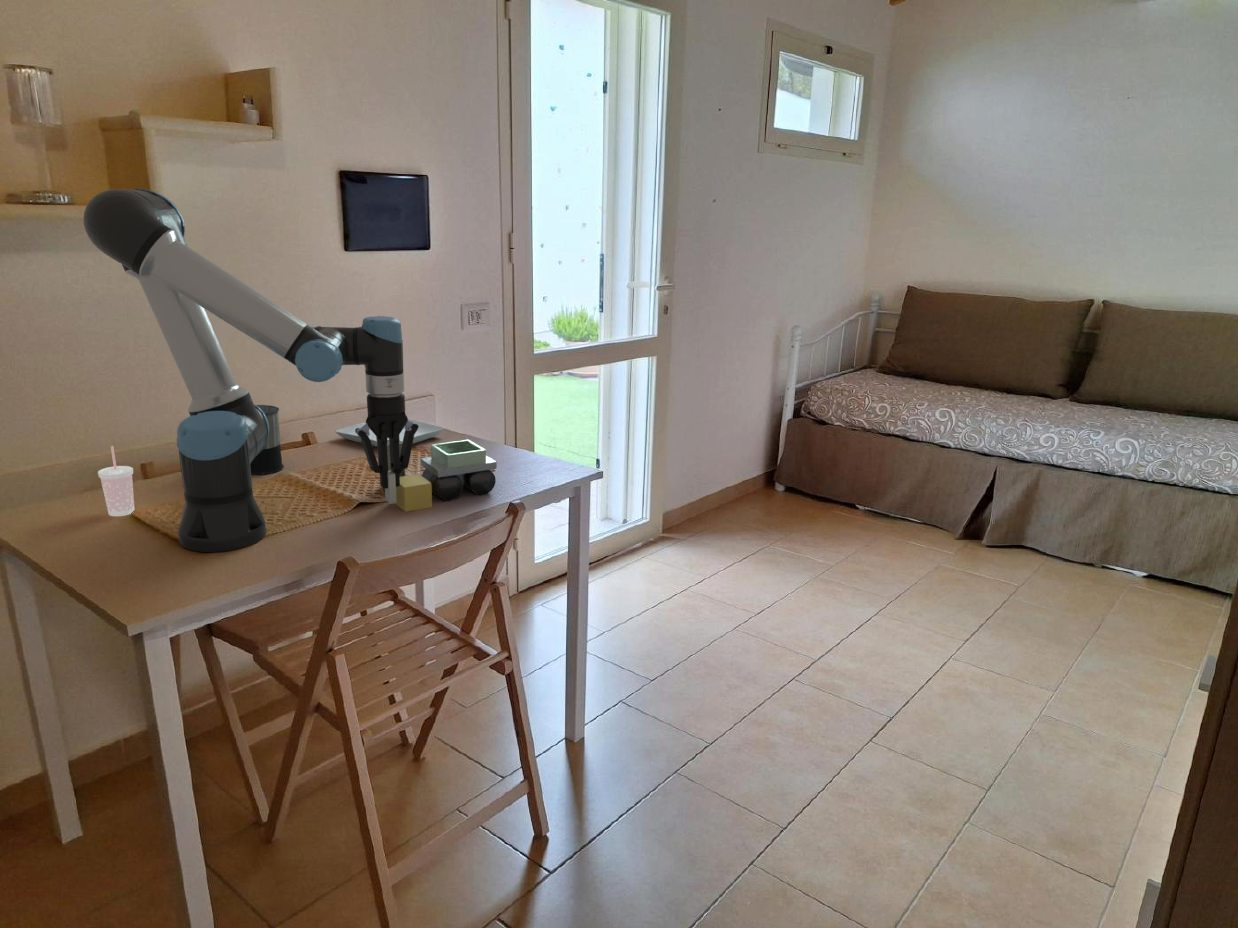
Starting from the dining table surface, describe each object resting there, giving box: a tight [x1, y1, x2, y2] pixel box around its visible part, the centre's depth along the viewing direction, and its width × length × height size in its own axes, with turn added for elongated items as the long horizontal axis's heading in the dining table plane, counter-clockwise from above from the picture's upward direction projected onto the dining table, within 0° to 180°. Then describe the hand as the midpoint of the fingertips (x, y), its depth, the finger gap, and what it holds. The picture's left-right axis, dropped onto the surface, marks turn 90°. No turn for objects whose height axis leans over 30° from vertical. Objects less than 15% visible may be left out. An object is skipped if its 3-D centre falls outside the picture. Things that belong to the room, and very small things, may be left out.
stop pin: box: [387, 440, 406, 477], centre depth 187 cm, size 4×4×11 cm
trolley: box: [420, 439, 498, 502], centre depth 187 cm, size 14×10×11 cm
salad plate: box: [335, 418, 445, 448], centre depth 226 cm, size 21×21×3 cm
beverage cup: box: [97, 445, 135, 517], centre depth 166 cm, size 6×6×14 cm
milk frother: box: [250, 404, 284, 475], centre depth 193 cm, size 14×16×15 cm
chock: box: [395, 473, 433, 513], centre depth 178 cm, size 6×7×6 cm
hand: (391, 501), depth 176 cm, fingers closed
